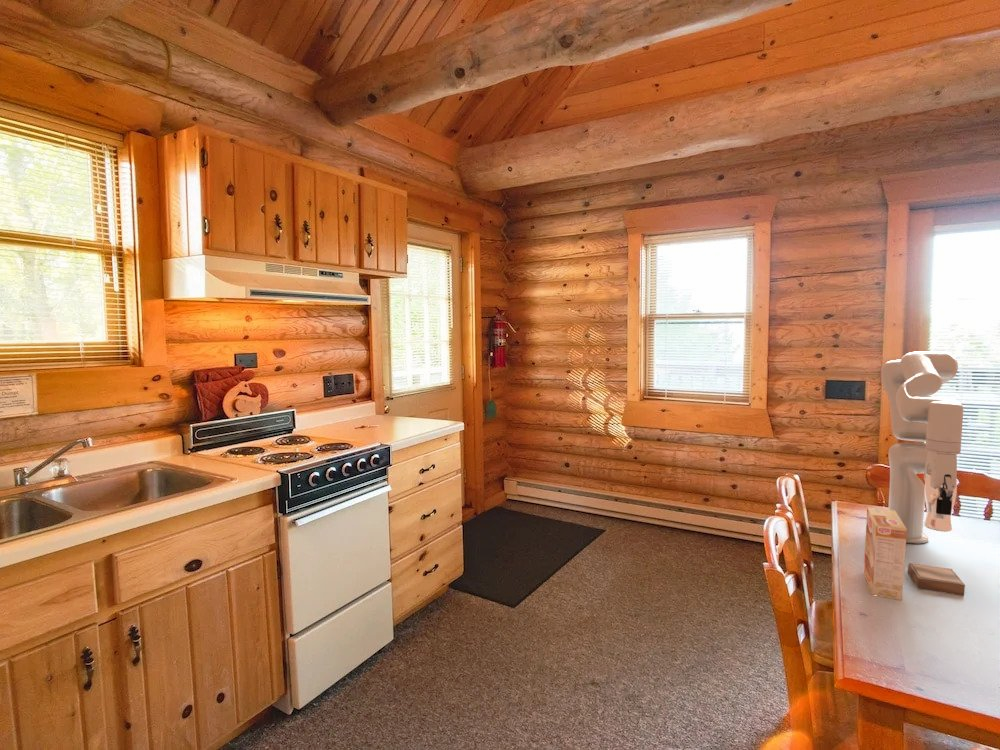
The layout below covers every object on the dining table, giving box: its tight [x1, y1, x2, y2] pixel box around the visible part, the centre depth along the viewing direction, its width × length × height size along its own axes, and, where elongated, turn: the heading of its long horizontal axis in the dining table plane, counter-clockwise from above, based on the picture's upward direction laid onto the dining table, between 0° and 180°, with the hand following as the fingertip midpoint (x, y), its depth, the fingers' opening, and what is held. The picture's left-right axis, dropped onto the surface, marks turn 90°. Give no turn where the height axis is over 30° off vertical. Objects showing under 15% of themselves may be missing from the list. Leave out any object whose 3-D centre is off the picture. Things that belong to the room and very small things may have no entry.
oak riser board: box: [907, 562, 966, 597], centre depth 153 cm, size 10×10×3 cm
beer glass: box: [923, 473, 958, 533], centre depth 153 cm, size 7×7×15 cm
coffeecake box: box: [863, 507, 907, 601], centre depth 151 cm, size 15×7×20 cm, turn 154°
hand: (939, 509), depth 154 cm, fingers closed on beer glass, 6 cm apart
